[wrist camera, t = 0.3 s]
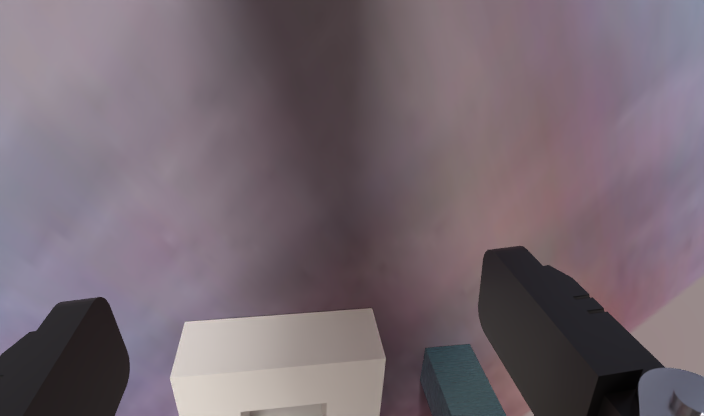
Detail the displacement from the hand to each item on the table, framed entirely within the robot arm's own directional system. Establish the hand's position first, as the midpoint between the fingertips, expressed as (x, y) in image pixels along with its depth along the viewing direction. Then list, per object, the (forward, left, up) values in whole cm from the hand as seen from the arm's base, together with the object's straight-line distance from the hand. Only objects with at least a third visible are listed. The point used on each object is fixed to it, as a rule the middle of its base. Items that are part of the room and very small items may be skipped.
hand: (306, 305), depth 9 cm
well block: (+24, -1, -18) cm, 29 cm away
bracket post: (+24, +13, -18) cm, 32 cm away
